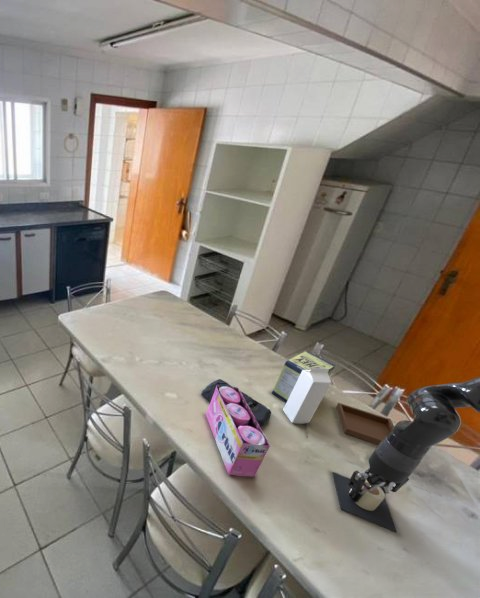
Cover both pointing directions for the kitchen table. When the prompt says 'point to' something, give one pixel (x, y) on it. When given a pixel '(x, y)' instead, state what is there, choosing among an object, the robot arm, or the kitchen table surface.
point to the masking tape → (371, 498)
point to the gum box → (236, 432)
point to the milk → (307, 395)
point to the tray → (363, 424)
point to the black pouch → (259, 411)
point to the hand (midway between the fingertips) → (363, 498)
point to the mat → (376, 516)
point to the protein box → (297, 372)
